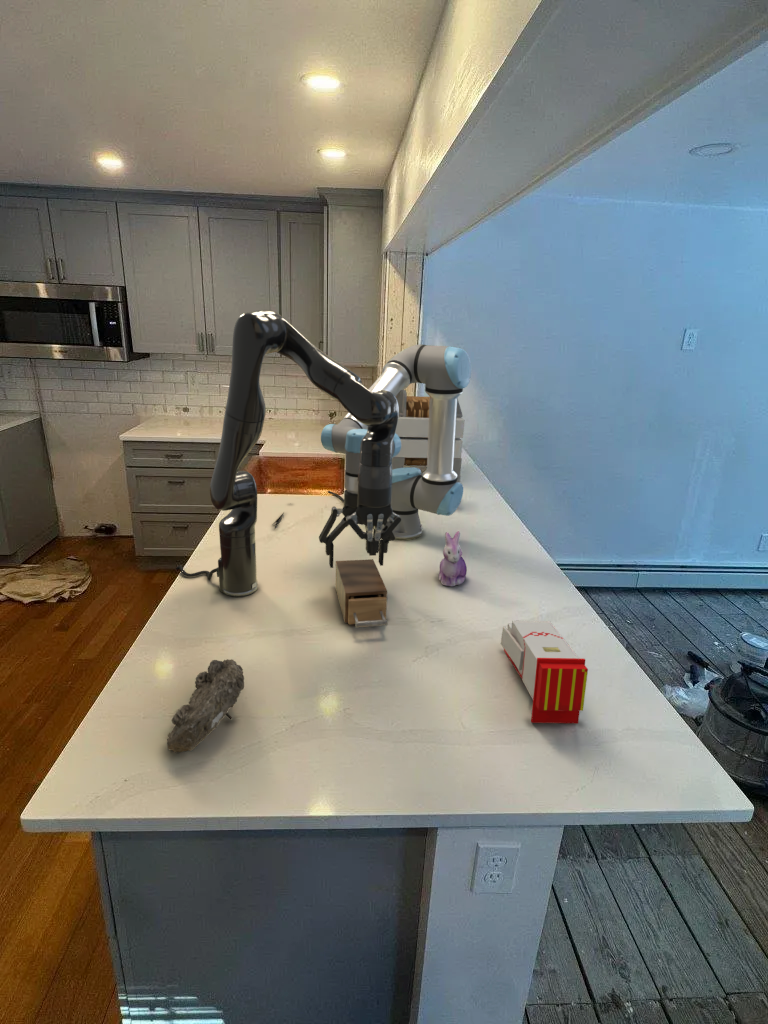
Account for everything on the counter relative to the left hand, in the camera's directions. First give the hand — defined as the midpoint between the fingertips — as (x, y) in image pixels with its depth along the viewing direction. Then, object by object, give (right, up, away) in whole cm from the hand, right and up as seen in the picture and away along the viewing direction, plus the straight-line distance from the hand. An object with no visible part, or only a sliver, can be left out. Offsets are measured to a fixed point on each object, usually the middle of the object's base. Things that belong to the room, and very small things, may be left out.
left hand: (372, 554), depth 131 cm
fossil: (-30, -29, -23) cm, 48 cm away
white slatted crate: (+20, +29, +144) cm, 148 cm away
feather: (-35, +8, +80) cm, 88 cm away
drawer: (-3, -16, +15) cm, 22 cm away
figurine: (+23, -10, +36) cm, 44 cm away
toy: (+36, -27, -8) cm, 45 cm away
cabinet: (-4, -15, +21) cm, 26 cm away
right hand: (-5, -4, +22) cm, 23 cm away
